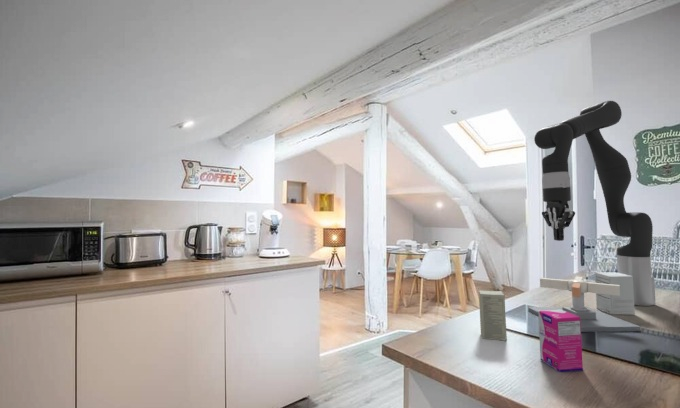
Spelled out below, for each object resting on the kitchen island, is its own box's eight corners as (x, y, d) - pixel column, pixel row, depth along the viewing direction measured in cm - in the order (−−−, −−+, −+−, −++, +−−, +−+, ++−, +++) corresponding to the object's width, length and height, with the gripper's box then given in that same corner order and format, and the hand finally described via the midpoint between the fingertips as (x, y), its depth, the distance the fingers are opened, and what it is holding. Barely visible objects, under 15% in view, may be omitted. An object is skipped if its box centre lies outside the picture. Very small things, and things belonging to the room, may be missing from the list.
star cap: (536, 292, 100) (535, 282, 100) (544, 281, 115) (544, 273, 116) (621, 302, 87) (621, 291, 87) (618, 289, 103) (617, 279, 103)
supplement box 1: (539, 360, 74) (537, 309, 74) (563, 359, 74) (561, 308, 75) (558, 372, 68) (556, 317, 68) (584, 371, 69) (582, 316, 69)
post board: (586, 310, 111) (585, 284, 111) (640, 330, 91) (639, 299, 91) (528, 310, 111) (527, 285, 111) (569, 331, 91) (568, 300, 91)
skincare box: (504, 335, 89) (503, 291, 90) (507, 341, 85) (505, 294, 85) (479, 333, 91) (478, 289, 92) (481, 338, 87) (479, 293, 88)
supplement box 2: (618, 308, 112) (616, 272, 113) (635, 315, 105) (633, 276, 105) (595, 308, 113) (594, 272, 114) (611, 314, 106) (609, 275, 106)
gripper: (532, 188, 112) (534, 239, 111) (558, 185, 98) (561, 242, 98) (553, 188, 112) (556, 238, 111) (583, 184, 98) (586, 241, 98)
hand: (558, 240), depth 104 cm, fingers closed
